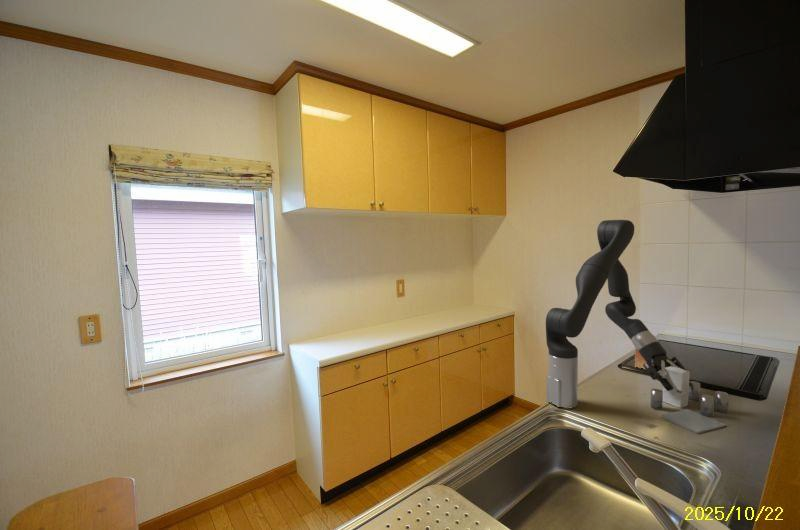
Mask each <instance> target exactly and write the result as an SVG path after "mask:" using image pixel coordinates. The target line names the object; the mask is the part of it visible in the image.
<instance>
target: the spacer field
mask: <svg viewBox="0 0 800 530" xmlns="http://www.w3.org/2000/svg"><path fill="white" fill-rule="evenodd" d="M689 381H690V383H691V386H689V394H688V401H691V402H698V403H699V402H700V409H699V411H700V413H699V414H701V415H703V416H706V417H708V418H713V417H714V411H716V412H718V413H721V414H728V413H729V397H730V396H729V395H730V394H729V393H727V392H725V391H722V390H721V391H720V390H718V391H717V390H716V391H715V394H714V395H715V397H714V396H712V395H710V394H707V393H706V394H703V393H702V394H701V383H700V382H698V381H695V380H694V381H693V380H689ZM714 398H715V399H714ZM714 402H715V403H714ZM714 404H715V405H714ZM650 408H651V409H652V410H655V411H656V410H657V411H662V410H663V389H658V388H650ZM714 409H715V410H714Z"/></svg>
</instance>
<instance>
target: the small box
mask: <svg viewBox="0 0 800 530" xmlns="http://www.w3.org/2000/svg"><path fill="white" fill-rule="evenodd" d="M634 348H635V347H634ZM634 350H635V351H634V353H635V354H634V368H636V367H638V369H641V368H643V369H642V370H646V369H645V367H644V366H643V364H645V363H646V361H645V360H644V358H643V357H642V356H641V354H640V353H639V352H638V350H637V349H636V348H635V349H634Z"/></svg>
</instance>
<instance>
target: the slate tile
mask: <svg viewBox="0 0 800 530" xmlns="http://www.w3.org/2000/svg"><path fill="white" fill-rule="evenodd" d="M659 415H660V417H659V418H661V419H664V420H666V421H668V422H671V423H672V424H674V425H678V426H680V427H682V428H684V429H686V430H689V431H691V432H694V433H695V434H701V433H703V434H704V433H706V432H709V431H713V430H717V428H718V429H721V427H722V428H724V426H727V425H726V423H723V422H720V421H718V420H715V419H713V418H712V417H707V416H703V415H701V414H700V413H699V412H695V411H693V410H690V409H688V408H685V409H682V410H681V409H680V410H677V411H676V410H675V411H673V412H668V413H664V414H659Z"/></svg>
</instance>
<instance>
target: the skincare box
mask: <svg viewBox="0 0 800 530" xmlns="http://www.w3.org/2000/svg"><path fill="white" fill-rule="evenodd" d="M686 370H687V369H686ZM686 370H683V369H681V368H680V367H679V368H676V367H673V366H669V367H666V368H665V378H667V380H668V381H669V382H670V384H671V385H672V386H673V389H672V390H670V391H667V390H666V389H665V388H664V386H663V385H662V391H663V399H662V403H663V402H664V403H666V404H669V405H672V406H674V407H677V408H685V407H687V406H688V405H689V399H688V394H689V381H690V373H691V372H690V370H687V371H686Z"/></svg>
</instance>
